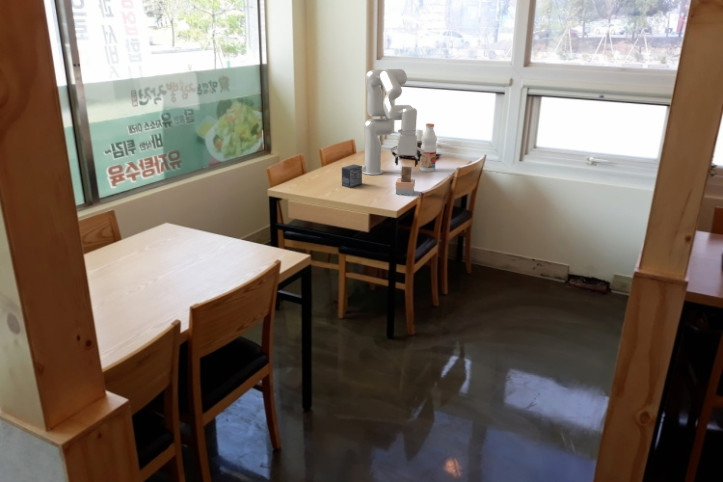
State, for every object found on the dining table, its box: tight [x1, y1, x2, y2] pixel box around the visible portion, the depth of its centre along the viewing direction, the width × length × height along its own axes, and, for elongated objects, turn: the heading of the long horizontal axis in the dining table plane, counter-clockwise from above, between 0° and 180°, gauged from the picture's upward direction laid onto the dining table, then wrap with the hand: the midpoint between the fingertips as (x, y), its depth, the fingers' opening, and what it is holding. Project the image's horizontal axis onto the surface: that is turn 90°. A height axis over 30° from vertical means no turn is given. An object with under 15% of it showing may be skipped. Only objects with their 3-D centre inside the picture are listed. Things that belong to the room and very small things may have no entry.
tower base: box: [395, 188, 415, 196], centre depth 312 cm, size 9×9×4 cm
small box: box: [341, 164, 363, 189], centre depth 323 cm, size 11×6×10 cm, turn 141°
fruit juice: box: [419, 123, 438, 173], centre depth 356 cm, size 9×9×28 cm
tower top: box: [395, 177, 416, 190], centre depth 311 cm, size 9×9×4 cm
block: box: [400, 166, 412, 182], centre depth 309 cm, size 5×5×7 cm
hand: (406, 165), depth 308 cm, fingers open, 9 cm apart
